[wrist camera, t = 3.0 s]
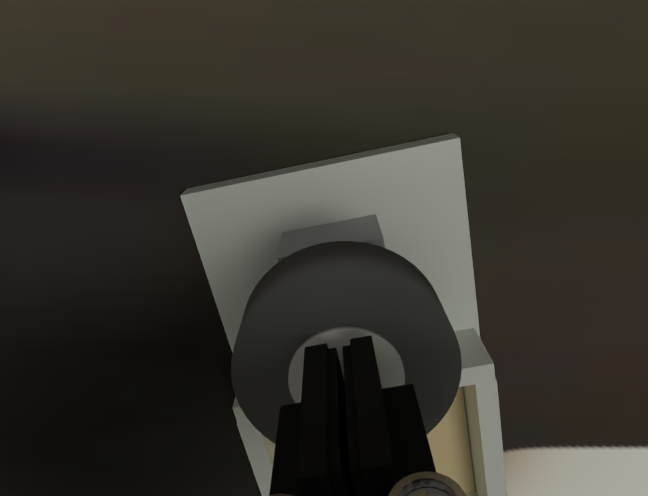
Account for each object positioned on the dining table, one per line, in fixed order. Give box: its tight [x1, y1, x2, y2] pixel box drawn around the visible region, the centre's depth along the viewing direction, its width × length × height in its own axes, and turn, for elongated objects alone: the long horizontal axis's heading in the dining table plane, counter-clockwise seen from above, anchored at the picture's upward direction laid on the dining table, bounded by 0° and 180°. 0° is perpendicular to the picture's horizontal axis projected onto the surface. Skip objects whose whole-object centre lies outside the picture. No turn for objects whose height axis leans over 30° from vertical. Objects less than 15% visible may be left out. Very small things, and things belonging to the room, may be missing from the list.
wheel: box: [231, 241, 462, 444], centre depth 15 cm, size 6×6×5 cm
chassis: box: [180, 133, 507, 496], centre depth 20 cm, size 18×10×4 cm, turn 12°
